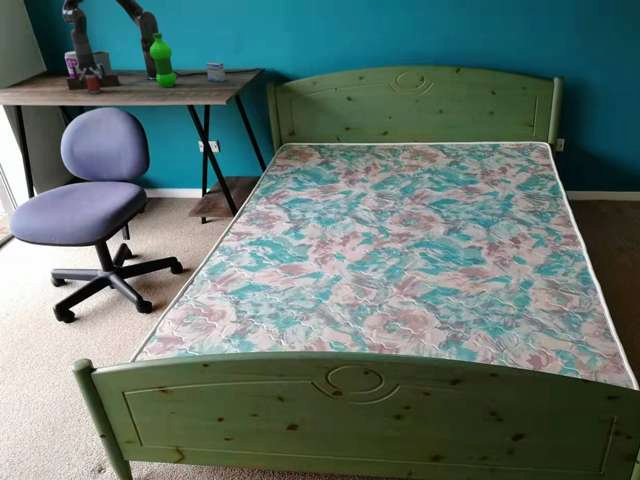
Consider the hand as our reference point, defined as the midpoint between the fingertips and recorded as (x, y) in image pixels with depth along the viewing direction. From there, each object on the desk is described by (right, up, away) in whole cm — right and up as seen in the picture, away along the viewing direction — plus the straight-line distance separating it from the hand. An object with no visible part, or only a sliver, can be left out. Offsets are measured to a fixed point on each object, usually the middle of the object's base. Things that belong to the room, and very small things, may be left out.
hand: (93, 86), depth 297 cm
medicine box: (+58, +8, +16) cm, 60 cm away
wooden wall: (-4, +4, +11) cm, 13 cm away
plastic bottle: (+34, +3, +9) cm, 35 cm away
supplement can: (-15, +8, +19) cm, 26 cm away
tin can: (0, -2, +2) cm, 3 cm away
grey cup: (-8, +16, +30) cm, 35 cm away
